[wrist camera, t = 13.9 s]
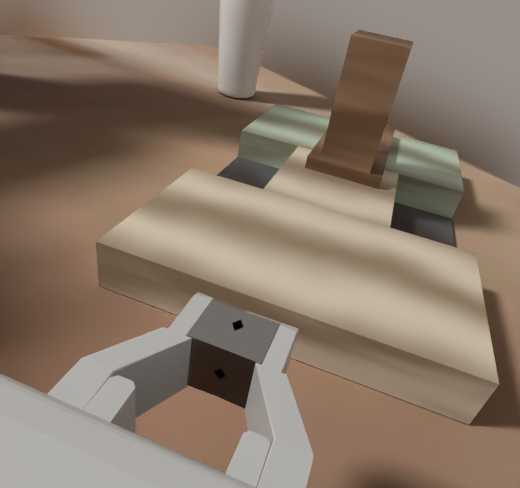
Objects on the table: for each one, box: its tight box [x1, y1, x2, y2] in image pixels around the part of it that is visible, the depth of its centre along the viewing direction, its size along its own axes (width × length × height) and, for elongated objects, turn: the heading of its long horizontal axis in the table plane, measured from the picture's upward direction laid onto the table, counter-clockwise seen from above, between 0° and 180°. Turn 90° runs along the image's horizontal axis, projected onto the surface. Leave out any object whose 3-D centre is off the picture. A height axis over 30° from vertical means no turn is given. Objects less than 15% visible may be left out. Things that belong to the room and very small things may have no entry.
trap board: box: [96, 104, 499, 425], centre depth 34 cm, size 32×20×3 cm, turn 161°
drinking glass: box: [217, 0, 274, 99], centre depth 55 cm, size 7×7×15 cm
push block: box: [305, 30, 413, 189], centre depth 36 cm, size 14×6×10 cm, turn 160°
